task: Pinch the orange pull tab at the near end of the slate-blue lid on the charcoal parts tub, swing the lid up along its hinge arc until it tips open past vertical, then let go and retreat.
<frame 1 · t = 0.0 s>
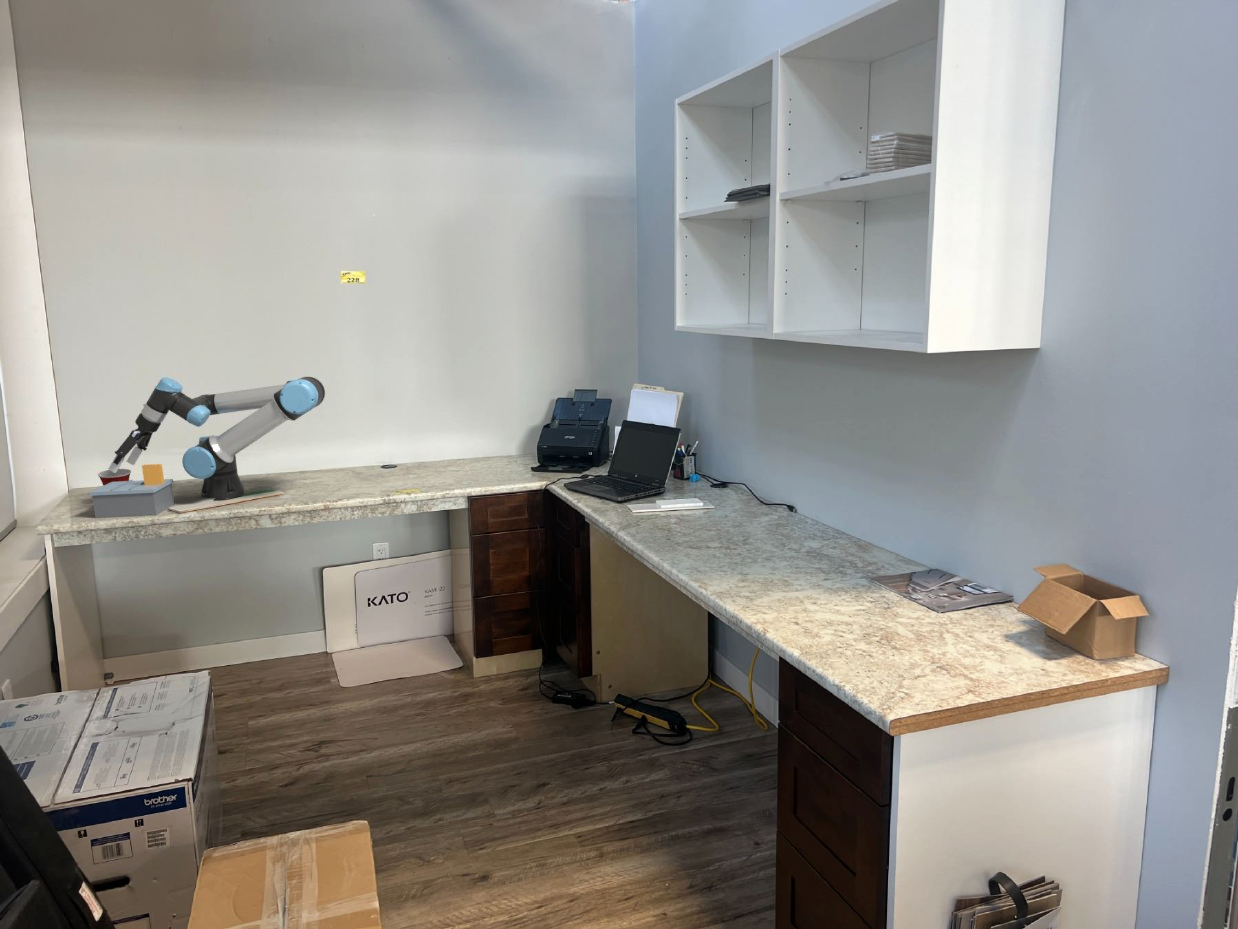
hand: (121, 467, 310), 15 cm above the countertop, tool tilted 35°, fingers open, 13 cm apart
lid: (130, 477, 303), point 13 cm above the countertop, hinge at 0.0°
plastic cup: (119, 503, 322), on the countertop
loose parts: (136, 511, 305), resting on tub
tub: (136, 513, 306), on the countertop
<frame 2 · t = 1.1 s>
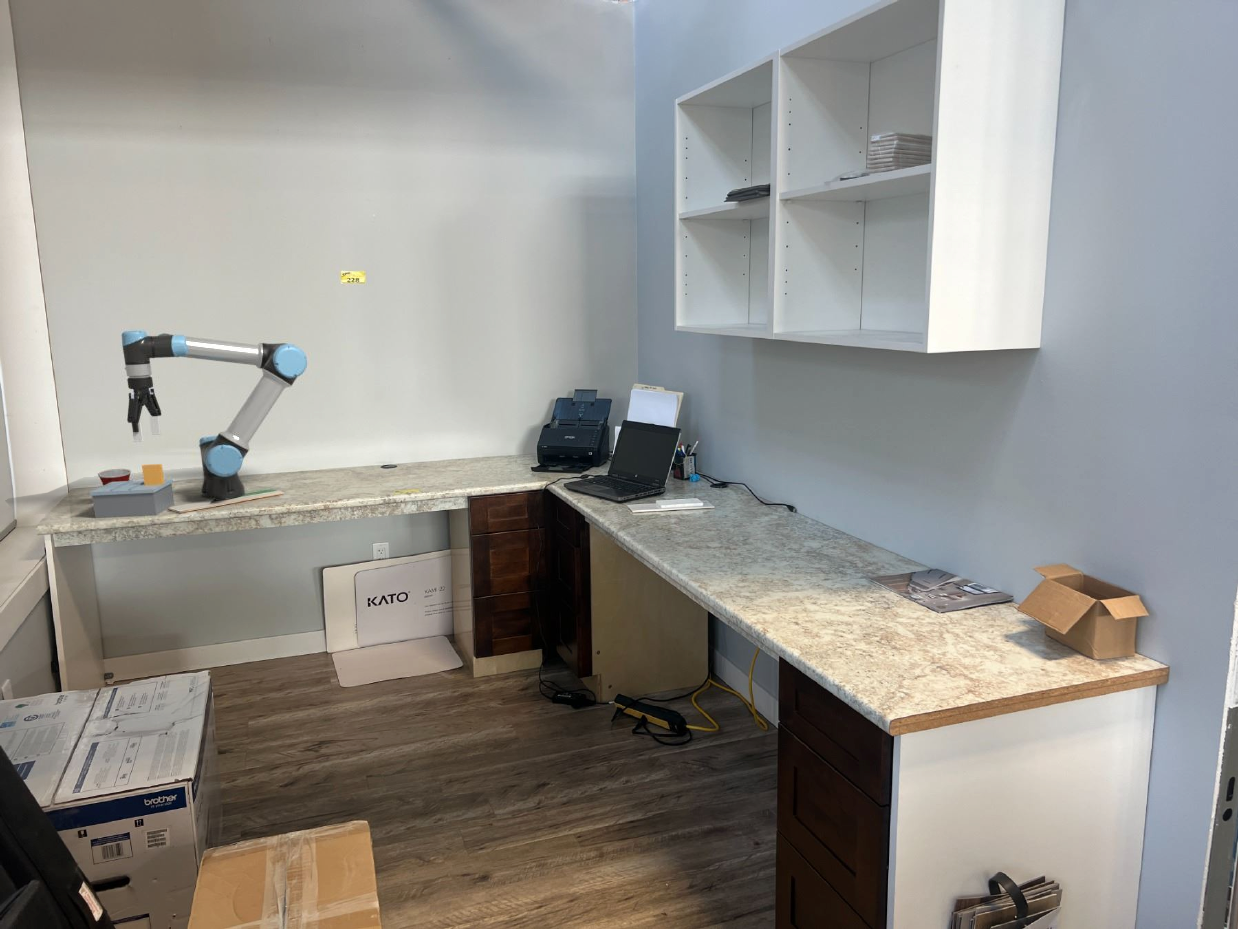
hand: (147, 438, 301), 27 cm above the countertop, tool pointing down, fingers open, 13 cm apart
nothing on the countertop moved.
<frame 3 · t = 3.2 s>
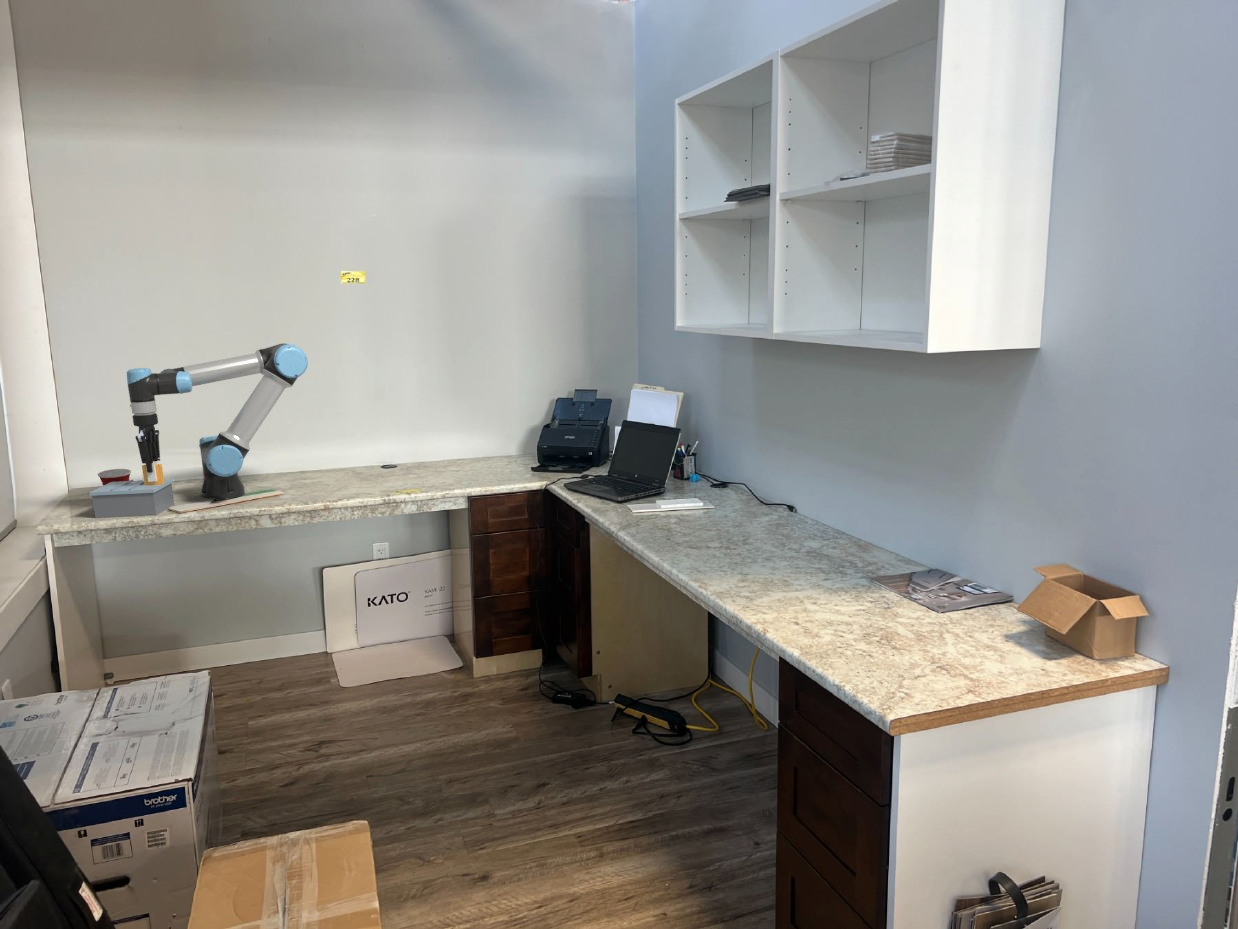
hand: (154, 480, 304), 12 cm above the countertop, tool pointing down, fingers closed on lid, 2 cm apart
lid: (130, 477, 303), point 13 cm above the countertop, hinge at 0.0°, touching gripper
everything else where it was.
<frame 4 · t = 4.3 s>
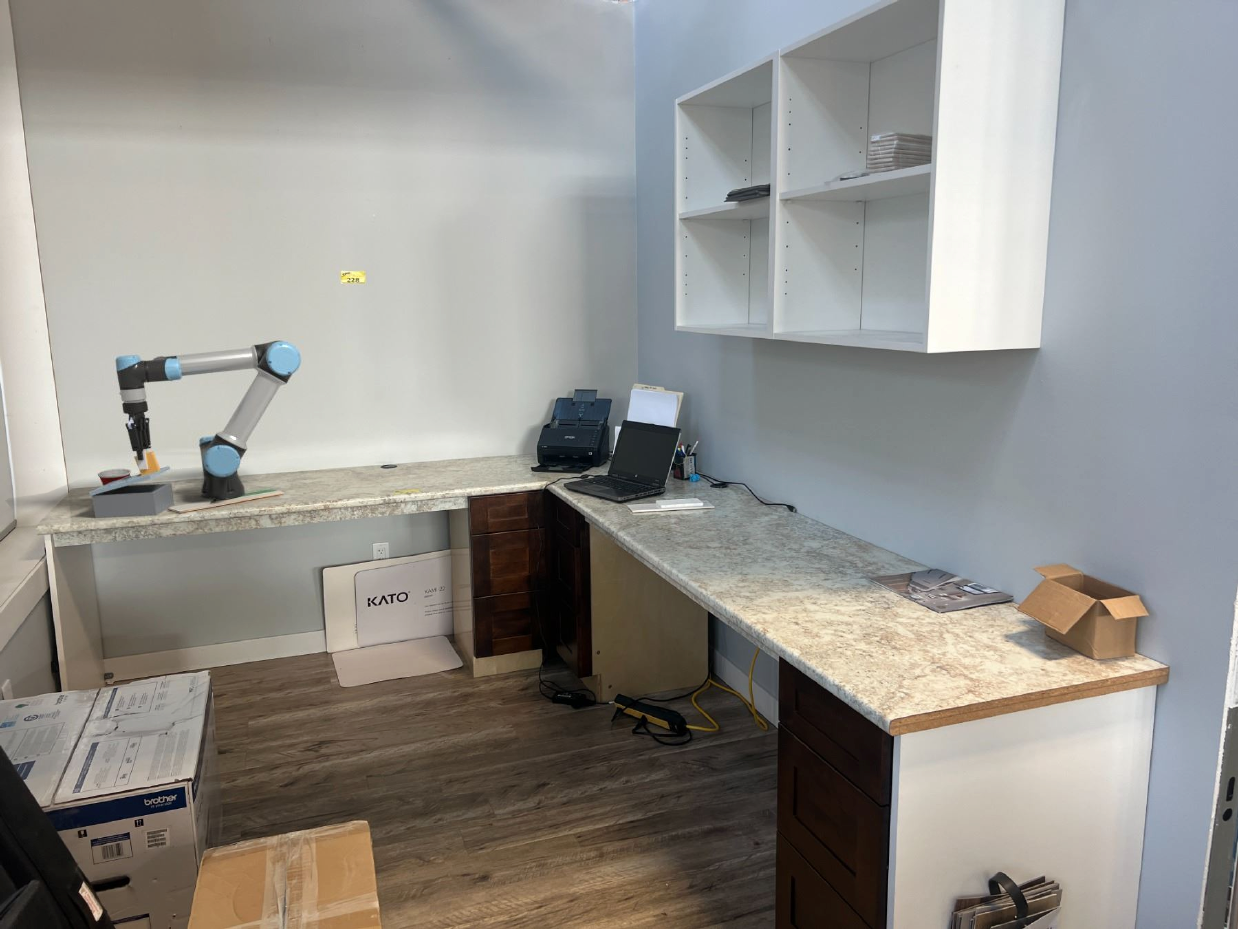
hand: (145, 468, 303), 16 cm above the countertop, tool pointing down, fingers closed on lid, 2 cm apart
lid: (126, 471, 302), point 15 cm above the countertop, hinge at 13.3°, touching gripper
everything else where it was.
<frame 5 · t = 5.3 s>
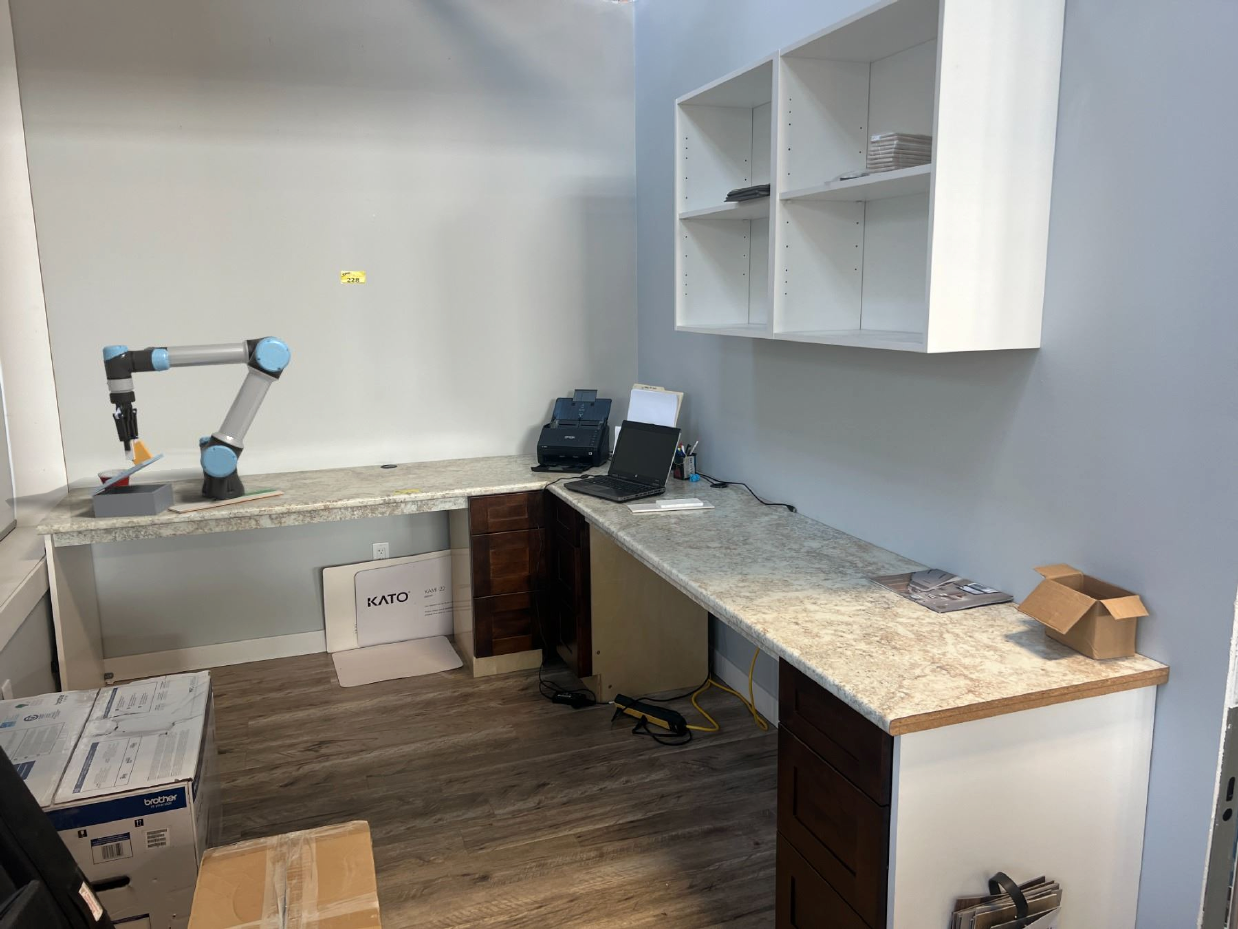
hand: (132, 458, 302), 20 cm above the countertop, tool pointing down, fingers closed on lid, 2 cm apart
lid: (120, 465, 302), point 17 cm above the countertop, hinge at 27.1°, touching gripper
everything else where it was.
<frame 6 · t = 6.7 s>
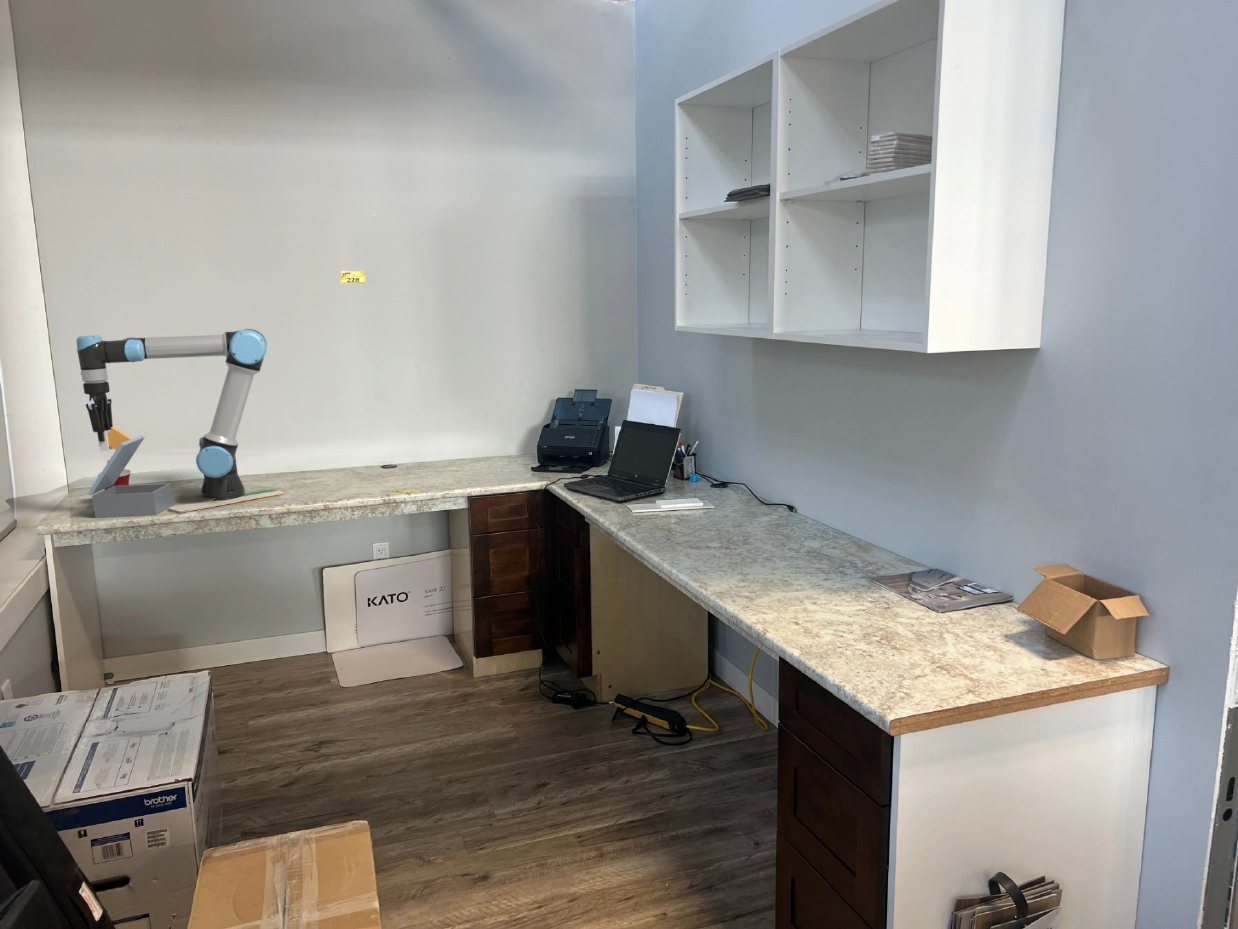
hand: (106, 449, 300), 23 cm above the countertop, tool pointing down, fingers closed on lid, 2 cm apart
lid: (107, 459, 301), point 20 cm above the countertop, hinge at 52.0°, touching gripper
everything else where it was.
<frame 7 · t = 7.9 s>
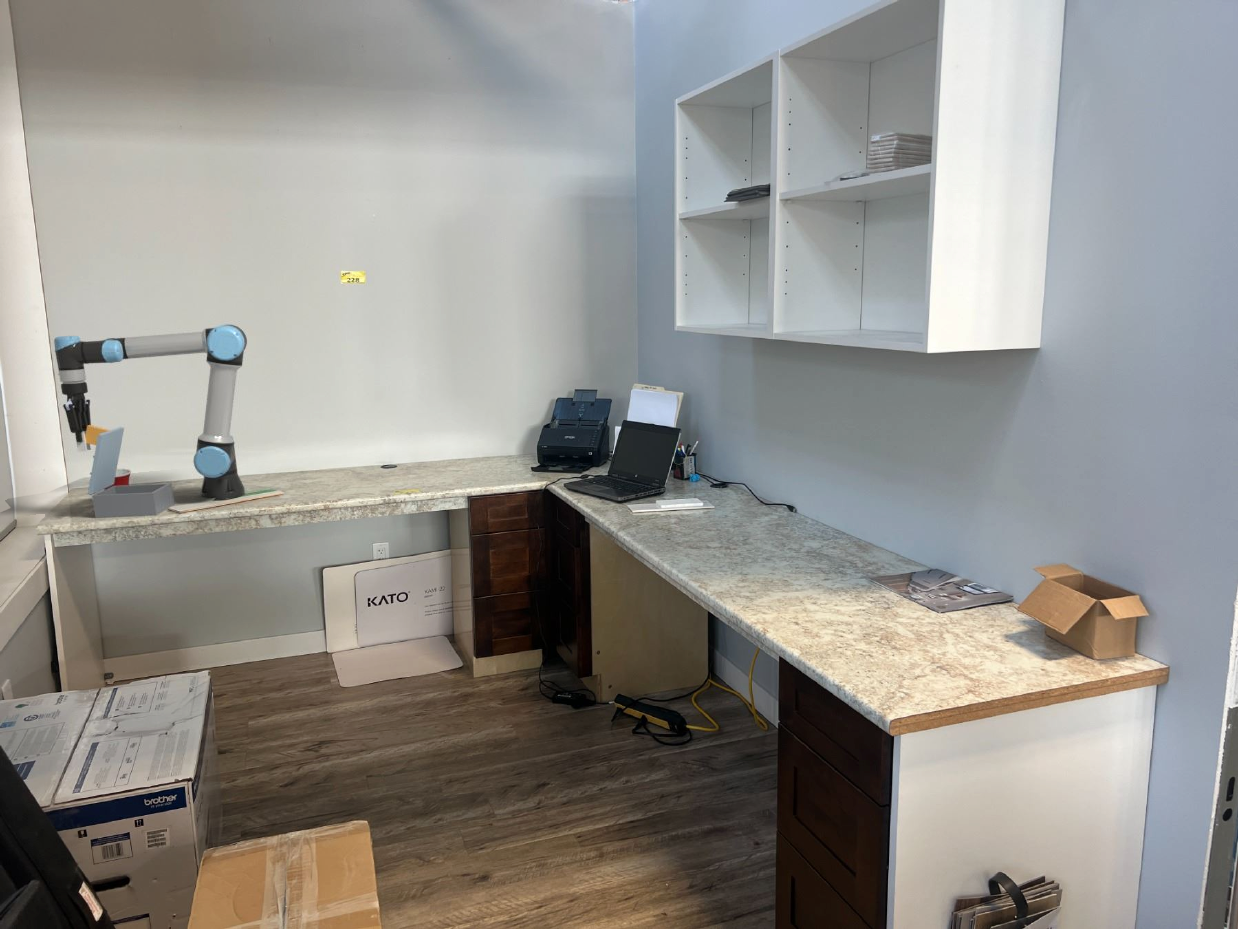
hand: (84, 450, 300), 23 cm above the countertop, tool pointing down, fingers closed on lid, 2 cm apart
lid: (95, 458, 301), point 20 cm above the countertop, hinge at 72.5°, touching gripper
everything else where it was.
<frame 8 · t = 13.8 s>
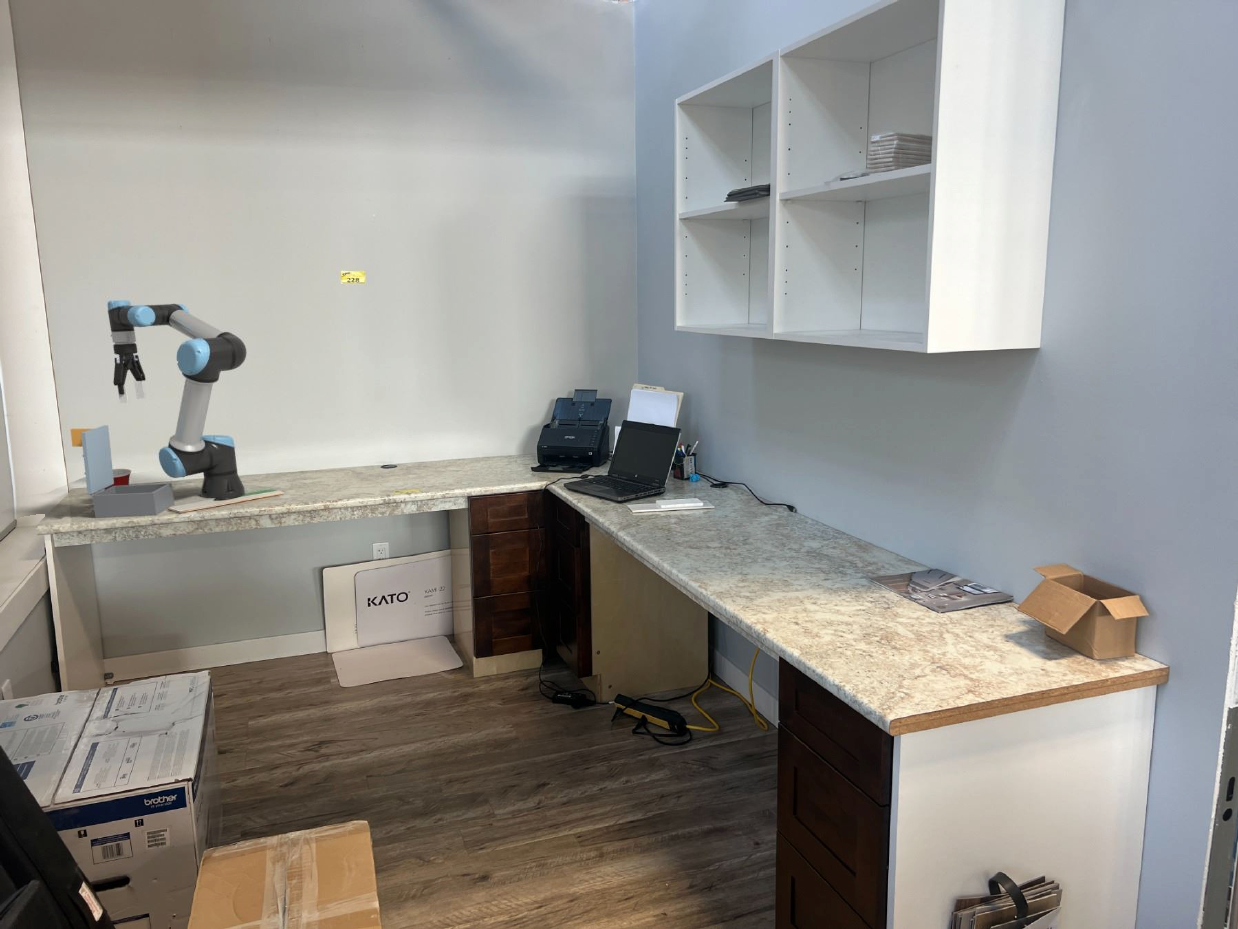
hand: (132, 400, 324), 37 cm above the countertop, tool pointing down, fingers open, 13 cm apart
lid: (87, 459, 300), point 20 cm above the countertop, hinge at 87.2°
everything else where it was.
at the end: lid at +87° (first picture: +0°); plastic cup moved 0.2 cm from its start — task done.
